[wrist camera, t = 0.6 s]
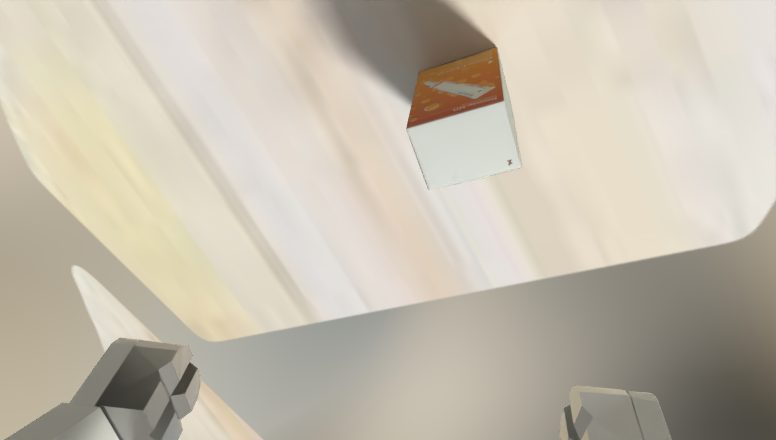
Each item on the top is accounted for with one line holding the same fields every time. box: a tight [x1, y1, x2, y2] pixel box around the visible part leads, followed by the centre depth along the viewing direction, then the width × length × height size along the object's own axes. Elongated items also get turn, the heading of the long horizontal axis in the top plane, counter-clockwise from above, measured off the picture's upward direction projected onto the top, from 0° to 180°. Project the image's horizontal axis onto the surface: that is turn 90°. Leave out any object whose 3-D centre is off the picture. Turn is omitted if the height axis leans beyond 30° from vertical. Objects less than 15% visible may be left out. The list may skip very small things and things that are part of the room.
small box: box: [406, 47, 522, 190], centre depth 45 cm, size 8×6×13 cm
